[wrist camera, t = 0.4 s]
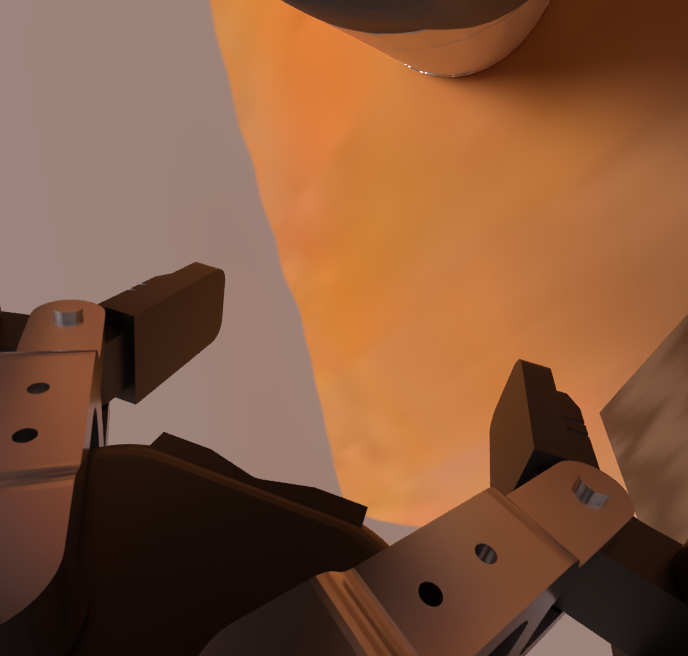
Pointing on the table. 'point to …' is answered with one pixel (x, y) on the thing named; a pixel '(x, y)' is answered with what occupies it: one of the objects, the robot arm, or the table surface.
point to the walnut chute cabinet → (655, 436)
